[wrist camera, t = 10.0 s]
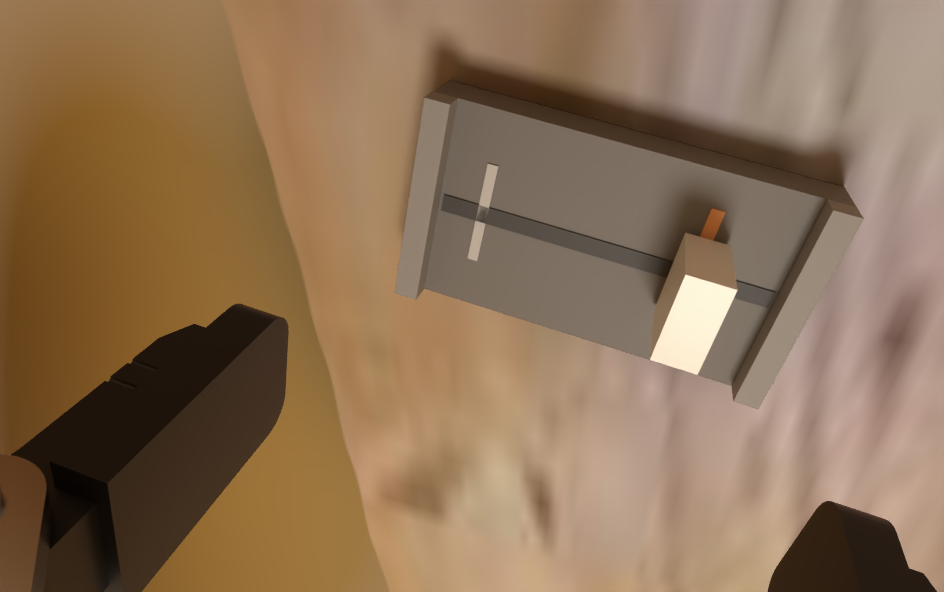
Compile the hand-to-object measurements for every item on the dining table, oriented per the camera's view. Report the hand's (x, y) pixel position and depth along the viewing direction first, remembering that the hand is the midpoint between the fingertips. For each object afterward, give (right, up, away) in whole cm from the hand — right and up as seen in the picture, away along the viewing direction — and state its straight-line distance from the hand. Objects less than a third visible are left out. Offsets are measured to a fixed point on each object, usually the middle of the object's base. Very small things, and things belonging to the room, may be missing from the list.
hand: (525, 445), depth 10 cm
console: (+7, +6, +30) cm, 31 cm away
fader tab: (+11, +3, +26) cm, 29 cm away
